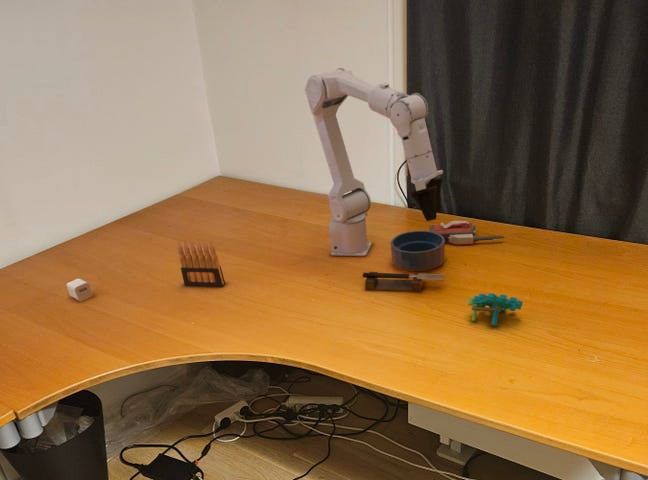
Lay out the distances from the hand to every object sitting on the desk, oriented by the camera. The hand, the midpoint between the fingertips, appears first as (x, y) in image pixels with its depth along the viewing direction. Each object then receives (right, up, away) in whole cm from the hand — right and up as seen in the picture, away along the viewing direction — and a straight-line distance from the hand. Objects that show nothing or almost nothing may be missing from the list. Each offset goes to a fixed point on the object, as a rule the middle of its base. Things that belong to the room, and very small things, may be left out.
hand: (434, 216), depth 137 cm
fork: (-6, -13, +6) cm, 15 cm away
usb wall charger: (-88, -16, +22) cm, 92 cm away
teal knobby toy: (+11, -23, -8) cm, 27 cm away
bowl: (-1, -7, +18) cm, 19 cm away
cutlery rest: (-8, -15, +8) cm, 19 cm away
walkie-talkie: (+12, 0, +26) cm, 29 cm away
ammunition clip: (-55, -13, +19) cm, 60 cm away
